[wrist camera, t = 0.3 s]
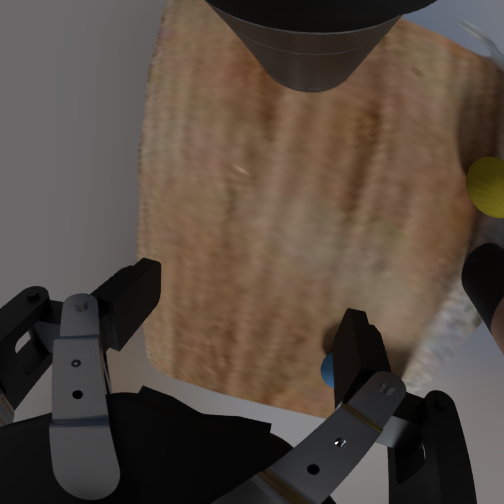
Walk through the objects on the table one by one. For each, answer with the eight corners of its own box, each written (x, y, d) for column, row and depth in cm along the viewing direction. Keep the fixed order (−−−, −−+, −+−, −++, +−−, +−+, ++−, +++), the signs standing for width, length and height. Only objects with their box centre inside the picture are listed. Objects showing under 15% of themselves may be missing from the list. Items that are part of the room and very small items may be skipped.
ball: (329, 337, 33) (330, 366, 29) (365, 345, 33) (370, 374, 28) (315, 363, 35) (314, 392, 31) (348, 371, 35) (350, 399, 31)
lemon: (461, 211, 24) (500, 240, 17) (447, 161, 22) (489, 177, 15) (496, 192, 22) (539, 216, 15) (484, 144, 20) (530, 156, 13)
